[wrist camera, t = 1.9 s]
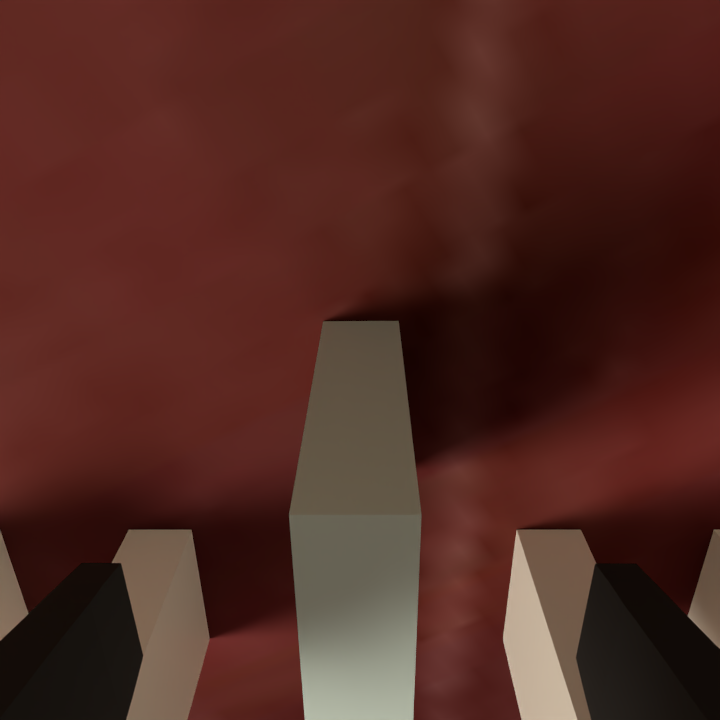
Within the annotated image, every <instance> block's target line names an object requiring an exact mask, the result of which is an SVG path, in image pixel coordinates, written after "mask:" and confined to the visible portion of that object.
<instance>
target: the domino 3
mask: <svg viewBox="0 0 720 720" xmlns="http://www.w3.org/2000/svg"><path fill="white" fill-rule="evenodd" d="M595 564H596V562H595V559H594V557H593V555H592V553H591V551H590V548H589V546H588V544H587V542H586V540H585V538H584V535H583V533H582V531H581V530H517V531H516V539H515V547H514V555H513V563H512V571H511V579H510V587H509V595H508V603H507V611H506V619H505V627H504V635H503V642H504V646H505V650H506V655H507V659H508V663H509V668H510V672H511V676H512V680H513V685H514V689H515V693H516V698H517V702H518V706H519V710H520V715H521V719H522V720H591V717H590V713H589V709H588V706H587V702H586V698H585V694H584V690H583V686H582V681H581V677H580V673H579V669H578V665H577V661H576V654H577V649H578V644H579V639H580V634H581V630H582V625H583V620H584V615H585V610H586V605H587V600H588V595H589V591H590V586H591V581H592V576H593V571H594V566H595Z"/></svg>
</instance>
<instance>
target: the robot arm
mask: <svg viewBox="0 0 720 720" xmlns="http://www.w3.org/2000/svg"><path fill="white" fill-rule="evenodd" d="M142 659H143V652H142V648H141V644H140V640H139V636H138V631H137V627H136V623H135V619H134V615H133V611H132V606H131V602H130V598H129V594H128V590H127V586H126V581H125V577H124V573H123V569H122V565H121V563H81V564H80V565H79V566H78V567H77V568H76V569H75V570H74V571H73V572H72V573H71V574H70V575H69V576H67V577H66V578H65V579H64V580H63V581H62V582H61V583H60V584H59V585H58V586H57V587H56V588H55V589H54V590H53V591H52V592H51V593H50V594H49V595H47V596H46V597H45V598H44V599H43V600H42V601H41V602H40V603H39V604H38V605H37V606H36V607H35V608H34V609H33V610H32V611H31V612H30V613H29V614H28V615H27V616H26V617H25V618H24V619H23V620H22V621H20V622H19V623H18V624H17V625H16V626H15V627H14V628H13V629H12V630H11V631H10V632H9V633H8V634H7V635H6V636H5V637H4V638H3V639H2V640H1V641H0V720H126V719H127V715H128V712H129V708H130V705H131V701H132V698H133V694H134V690H135V686H136V682H137V679H138V675H139V671H140V667H141V663H142ZM576 661H577V665H578V669H579V673H580V677H581V681H582V686H583V690H584V694H585V698H586V702H587V706H588V709H589V713H590V717H591V720H720V649H719V648H718V647H717V646H716V645H715V644H714V643H713V642H712V641H711V640H710V639H709V638H708V637H707V636H706V635H705V634H704V633H703V631H702V630H701V629H700V628H699V627H698V626H697V625H696V624H695V623H694V622H693V621H692V620H691V619H690V618H689V617H688V616H687V615H686V614H685V613H684V612H683V611H682V610H681V609H680V608H679V607H678V606H677V605H676V604H675V603H674V602H673V601H672V600H671V599H670V598H669V597H668V596H667V595H666V594H665V593H664V592H663V591H662V590H661V589H660V588H659V587H658V586H657V585H656V584H655V582H654V581H653V580H652V579H651V578H650V577H649V576H648V575H647V574H646V573H645V572H644V571H643V570H642V569H641V568H640V567H639V566H638V565H637V564H595V566H594V571H593V576H592V581H591V586H590V591H589V595H588V600H587V605H586V610H585V615H584V620H583V625H582V630H581V634H580V639H579V644H578V649H577V654H576Z"/></svg>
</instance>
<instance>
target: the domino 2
mask: <svg viewBox="0 0 720 720" xmlns="http://www.w3.org/2000/svg"><path fill="white" fill-rule="evenodd" d="M289 522H290V535H291V547H292V560H293V573H294V586H295V599H296V612H297V624H298V637H299V650H300V663H301V676H302V688H303V701H304V714H305V720H413V710H414V685H415V660H416V635H417V610H418V586H419V561H420V536H421V507H420V499H419V490H418V482H417V473H416V465H415V456H414V448H413V439H412V430H411V422H410V413H409V405H408V396H407V388H406V379H405V371H404V362H403V353H402V345H401V336H400V328H399V321H323V326H322V332H321V337H320V343H319V349H318V354H317V360H316V365H315V371H314V377H313V382H312V388H311V394H310V399H309V405H308V410H307V416H306V422H305V427H304V433H303V439H302V444H301V450H300V455H299V461H298V467H297V472H296V478H295V484H294V489H293V495H292V500H291V506H290V512H289Z"/></svg>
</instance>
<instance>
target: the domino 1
mask: <svg viewBox="0 0 720 720" xmlns="http://www.w3.org/2000/svg"><path fill="white" fill-rule="evenodd" d="M112 563H121V565H122V569H123V573H124V577H125V581H126V586H127V590H128V594H129V598H130V602H131V606H132V611H133V615H134V619H135V623H136V627H137V631H138V636H139V640H140V644H141V648H142V652H143V659H142V663H141V667H140V671H139V675H138V679H137V682H136V686H135V690H134V694H133V698H132V701H131V705H130V708H129V712H128V715H127V719H126V720H187V718H188V715H189V711H190V708H191V704H192V700H193V697H194V693H195V690H196V686H197V682H198V679H199V675H200V672H201V668H202V664H203V661H204V657H205V654H206V650H207V646H208V643H209V639H210V637H209V631H208V625H207V619H206V613H205V607H204V601H203V595H202V589H201V583H200V577H199V571H198V565H197V559H196V553H195V547H194V541H193V535H192V530H128V532H127V534H126V536H125V538H124V540H123V542H122V544H121V546H120V548H119V550H118V551H117V553H116V555H115V557H114V559H113V561H112Z"/></svg>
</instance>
